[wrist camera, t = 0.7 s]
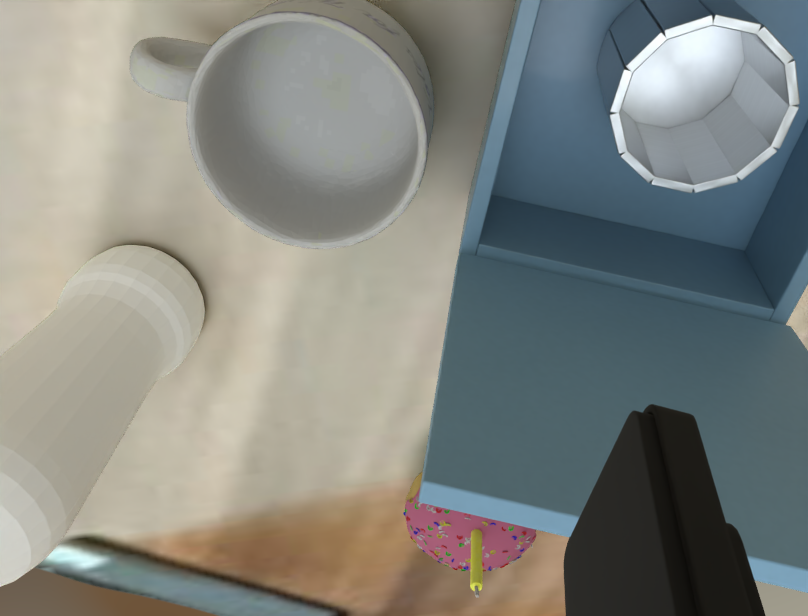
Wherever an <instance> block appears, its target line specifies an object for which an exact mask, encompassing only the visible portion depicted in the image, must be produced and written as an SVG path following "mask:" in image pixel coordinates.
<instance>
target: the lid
mask: <svg viewBox="0 0 808 616" xmlns="http://www.w3.org/2000/svg"><path fill="white" fill-rule="evenodd" d="M651 404H654V405H658V406H662V407H666V408H670V409H674V410H678V411H681V412H685V413H689V414H692V415H693V416H694V417H695V419H696V422H697V425H698V429H699V432H700V435H701V439H702V442H703V446H704V449H705V452H706V456H707V459H708V463H709V466H710V469H711V473H712V476H713V480H714V483H715V486H716V490H717V493H718V497H719V500H720V504H721V507H722V510H723V514H724V517H725V521H726V523H730V524H732V525H733V526H734V527H735V528H736V529H737V530H738V532H739V534H740V536H741V539H742V541H743V545H744V548H745V551H746V554H747V558H748V561H749V564H750V567H751V570H752V574H753V577H754V580H755V581H759V582H764V583H768V584H772V585H776V586H781V587H785V588H790V589H794V590H798V591H802V592H807V593H808V351H807V349H806V348H805V346H804V345H803V343H802V342H801V341H800V339H799V338H798V336H797V335H796V333H795V332H794V330H793V329H792V328H791V327H790V326H787V325H783V324H778V323H774V322H769V321H765V320H760V319H756V318H751V317H747V316H742V315H738V314H733V313H729V312H724V311H720V310H715V309H711V308H706V307H702V306H697V305H693V304H689V303H684V302H680V301H675V300H671V299H666V298H662V297H657V296H653V295H648V294H644V293H639V292H635V291H630V290H626V289H621V288H617V287H612V286H608V285H603V284H599V283H595V282H590V281H586V280H581V279H577V278H572V277H568V276H563V275H559V274H554V273H550V272H545V271H541V270H536V269H532V268H527V267H523V266H518V265H514V264H509V263H505V262H501V261H496V260H492V259H487V258H483V257H478V256H474V255H469V254H465V253H459V256H458V260H457V264H456V270H455V276H454V282H453V288H452V294H451V301H450V307H449V313H448V319H447V325H446V331H445V338H444V344H443V350H442V356H441V362H440V369H439V375H438V381H437V387H436V393H435V399H434V406H433V412H432V418H431V424H430V430H429V436H428V443H427V449H426V455H425V461H424V467H423V473H422V480H421V486H420V492H419V498H418V500H419V502H420V503H424V504H429V505H433V506H437V507H441V508H446V509H450V510H454V511H459V512H463V513H467V514H471V515H476V516H480V517H484V518H489V519H493V520H497V521H502V522H506V523H510V524H514V525H519V526H523V527H527V528H532V529H536V530H540V531H545V532H549V533H553V534H557V535H562V536H566V537H570V536H571V534H572V532H573V530H574V528H575V526H576V524H577V522H578V519H579V517H580V515H581V513H582V511H583V509H584V507H585V505H586V503H587V501H588V499H589V497H590V494H591V492H592V490H593V488H594V486H595V484H596V482H597V480H598V478H599V476H600V474H601V472H602V469H603V467H604V465H605V463H606V461H607V459H608V457H609V455H610V453H611V451H612V449H613V447H614V444H615V442H616V440H617V438H618V436H619V434H620V432H621V430H622V428H623V426H624V424H625V422H626V419H627V418H628V416H629V414H630V413H631V412H632V411H634V410H635V411H639V412H643V411H644V410H645V408H646V407H647V406H648V405H651Z"/></svg>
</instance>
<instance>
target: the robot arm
mask: <svg viewBox="0 0 808 616" xmlns="http://www.w3.org/2000/svg"><path fill="white" fill-rule="evenodd" d="M564 584H565V605H566V616H765V613H764V610H763V606H762V603H761V600H760V597H759V593H758V590H757V587H756V583H755V580H754V577H753V574H752V570H751V567H750V564H749V561H748V558H747V554H746V551H745V548H744V545H743V541H742V539H741V536H740V534H739V532H738V530H737V529H736V528H735V527H734V526H733V525H732V524H730V523H726V521H725V517H724V514H723V510H722V507H721V504H720V500H719V497H718V493H717V490H716V486H715V483H714V480H713V476H712V473H711V469H710V466H709V463H708V459H707V456H706V452H705V449H704V446H703V442H702V439H701V435H700V432H699V429H698V425H697V422H696V419H695V417H694V416H693V415H692V414H689V413H685V412H681V411H678V410H674V409H670V408H666V407H662V406H658V405H654V404H651V405H648V406H647V407H646V408H645V410H644V411H643V412H639V411H635V410H634V411H632V412H631V413H630V414H629V416H628V418H627V419H626V422H625V424H624V426H623V428H622V430H621V432H620V434H619V436H618V438H617V440H616V442H615V444H614V447H613V449H612V451H611V453H610V455H609V457H608V459H607V461H606V463H605V465H604V467H603V469H602V472H601V474H600V476H599V478H598V480H597V482H596V484H595V486H594V488H593V490H592V492H591V494H590V497H589V499H588V501H587V503H586V505H585V507H584V509H583V511H582V513H581V515H580V517H579V519H578V522H577V524H576V526H575V528H574V530H573V532H572V534H571V536H570V538H569V541H568V543H567V547H566V551H565V556H564Z"/></svg>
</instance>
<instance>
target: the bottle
mask: <svg viewBox="0 0 808 616" xmlns="http://www.w3.org/2000/svg"><path fill="white" fill-rule="evenodd" d="M204 316H205V309H204V301H203V296H202V294H201V291H200V289H199V286H198V284H197V282H196V281H195V279H194V278H193V276H192V275H191V274H190V272H189V271H188V270H187V269H186V268H185V267H184V266H183V265H182V264H181V263H179V262H178V261H177V260H176V259H174V258H173V257H171V256H169V255H168V254H166V253H164V252H162V251H160V250H157V249H154V248H151V247H148V246H138V245H123V246H117V247H113V248H111V249H108V250H106V251H104V252H102V253H100V254H99V255H97V256H95V257H93V258H91V259H90V260H89V261H88V262H87V263H85V264H84V265H83V266H82V267H81V268H80V269H79V270H78V271H77V272H76V273H75V274H74V275H73V276H72V277H71V278H70V279H69V280H68V281H67V283H66V285H65V287H64V289H63V291H62V293H61V296H60V298H59V300H58V306H57V308H56V309H55V310H54V311H53V312H52V313H51V314H50V315H49V316H48V317H47V318H46V319H45V320H43V321H42V322H41V323H40V324H39V325H37V326H36V327H35V328H34V329H33V330H31V331H30V332H29V333H28V334H27V335H26V336H24V337H23V338H22V339H21V340H20V341H18V342H17V343H16V344H15V345H14V346H12V347H11V348H10V349H9V350H8V351H7V352H5V353H4V354H3V355H2V356H1V357H0V586H3V585H6V584H8V583H11V582H13V581H15V580H17V579H18V578H20V577H21V576H22V575H24V574H25V573H27V572H28V571H29V570H31V569H32V568H34V567H35V566H36V565H38V564H39V563H40V562H42V561H43V560H44V559H45V558H46V557H47V556H48V555H49V554H50V553H51V552H52V551H53V550H54V549H55V548H56V547H57V546H58V545H59V543H60V542H61V540H62V539H63V537H64V536H65V534H66V533H67V531H68V530H69V528H70V526H71V525H72V523H73V521H74V519H75V518H76V516H77V514H78V513H79V511H80V509H81V507H82V506H83V504H84V502H85V500H86V499H87V497H88V495H89V494H90V492H91V490H92V488H93V487H94V485H95V483H96V482H97V480H98V478H99V476H100V475H101V473H102V471H103V469H104V468H105V466H106V464H107V463H108V461H109V459H110V457H111V456H112V454H113V452H114V451H115V449H116V447H117V445H118V444H119V442H120V440H121V439H122V437H123V435H124V433H125V432H126V430H127V428H128V426H129V425H130V423H131V421H132V420H133V418H134V416H135V414H136V413H137V411H138V409H139V408H140V406H141V404H142V402H143V401H144V399H145V397H146V396H147V394H148V393H149V391H150V390H151V388H152V387H153V385H154V384H155V382H156V381H157V380H158V379H159V378H162V377H164V376H167V375H168V374H169V373H170V372H172V371H173V370H174V369H175V368H177V367H178V366H179V365H180V364H181V363H183V361H184V360H185V358H186V357H187V355H188V354H189V352H190V351H191V349H192V348H193V346H194V344H195V343H196V341H197V339H198V337H199V335H200V332H201V329H202V326H203V321H204Z"/></svg>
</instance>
